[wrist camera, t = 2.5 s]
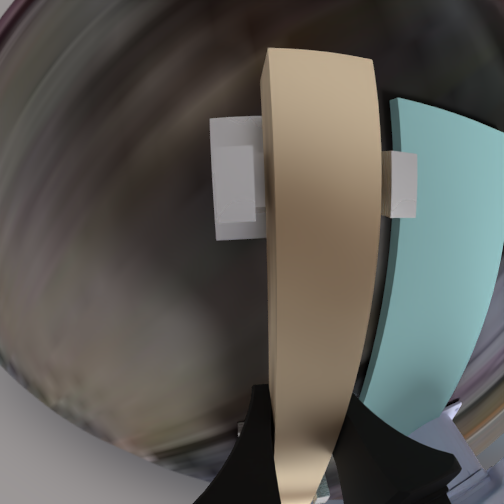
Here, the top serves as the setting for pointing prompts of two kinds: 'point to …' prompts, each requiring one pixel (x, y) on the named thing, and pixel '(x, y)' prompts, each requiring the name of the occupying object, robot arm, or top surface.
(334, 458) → the robot arm
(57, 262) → the top surface
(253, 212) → the hook stand
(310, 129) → the rail
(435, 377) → the mat
